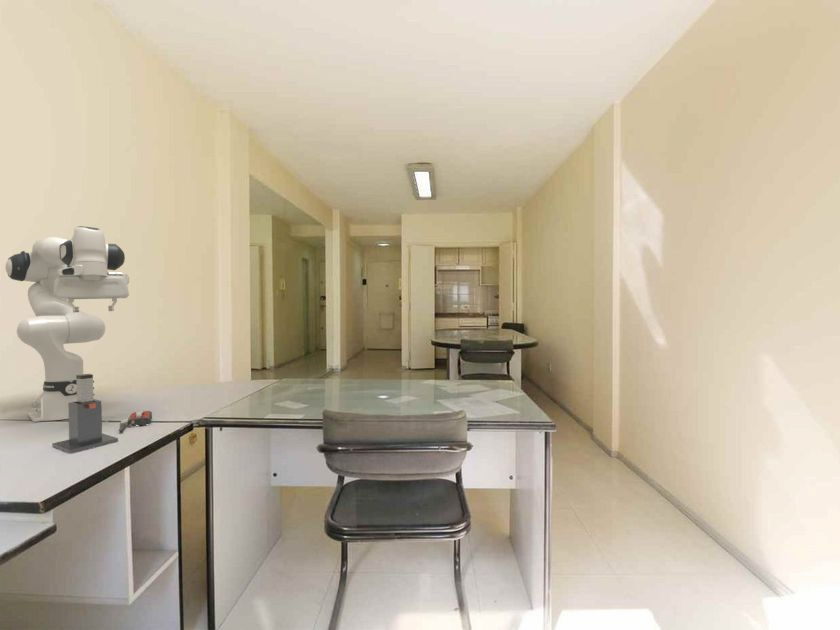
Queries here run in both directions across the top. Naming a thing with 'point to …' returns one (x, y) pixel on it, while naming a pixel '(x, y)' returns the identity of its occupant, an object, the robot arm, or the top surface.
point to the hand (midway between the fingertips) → (94, 311)
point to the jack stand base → (84, 428)
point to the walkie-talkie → (136, 419)
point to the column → (84, 388)
